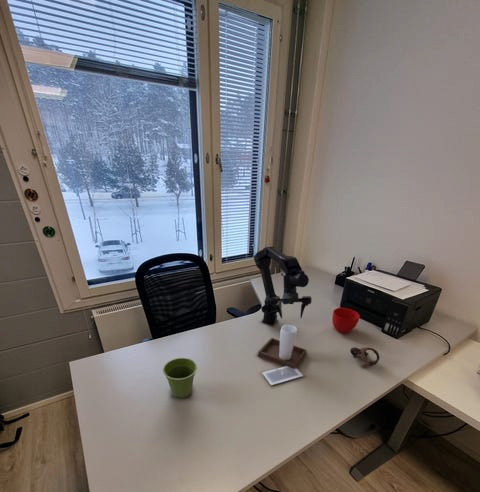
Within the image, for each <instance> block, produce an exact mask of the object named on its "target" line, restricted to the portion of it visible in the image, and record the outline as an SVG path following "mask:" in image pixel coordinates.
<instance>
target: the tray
mask: <svg viewBox="0 0 480 492" xmlns="http://www.w3.org/2000/svg"><path fill="white" fill-rule="evenodd" d="M279 350H280V339H277V338H274V337H271V338H270V339H269V340H268V341H267V342H266V343H265V344H264V345H263V346H262V347H261V348H260V350H258V353H257V357H260V358H262V359H265V360H267V361H270V362H273V363H275V364H277V365H280V366H282V367H285V366H288V367H290V368H293V369H296V368H297V369H298V366H299V365H300V364H301V362H302V361H303V360H304V357H305V356H306V354H307V349H305V348H302V347H299V346H297V345H294V347H293V350H292V354H291V358H290V359H289V360H282V359H281V358H280V357H279Z"/></svg>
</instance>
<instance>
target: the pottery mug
mask: <svg viewBox="0 0 480 492" xmlns="http://www.w3.org/2000/svg"><path fill="white" fill-rule="evenodd" d="M367 351H372V352H373V353H374V354H375V355H376V360H369V361H368V358H367V357H368V356H369V355H370V353H369V352H367ZM349 352H350V355H352V356H353V358H354V359H356V358H357V356H360V358H361V360H362V362H363V364H362V367H363V368H365V369H367V368H371V367H375V366H377V364H378V363H379V362H380V358H381V357H380V354H379V352H378V351H377V349H375V348H373V347H361V348H358V347H355V346H354V347H351V348H350V350H349Z"/></svg>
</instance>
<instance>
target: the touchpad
mask: <svg viewBox="0 0 480 492" xmlns="http://www.w3.org/2000/svg"><path fill="white" fill-rule="evenodd" d="M261 374H262V375H263V377H264V378H265V379H266V381H267V382H268V384H270V386H273V385H277V384H280V383H283V382H287V381H291V380H294V379H297V378H300V377H304V375H303V373H302V372H300V370H299V369H298V367H297V368H296V369H293V368H290V367H288V366H282V367H278V368H277V367H276V368H273V369H270V370H266V371H263V372H261Z"/></svg>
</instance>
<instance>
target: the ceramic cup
mask: <svg viewBox="0 0 480 492" xmlns="http://www.w3.org/2000/svg"><path fill="white" fill-rule="evenodd" d="M360 317H361V316H360V314H359V312H357V311H356V310H353V309H351V308H347V307H339V306H338V307H337V308H335V309H333V312H332V319H331V320H332V325H333V328H334V329H335V330H336V332H338V333H340V334H348V333H351V331H353V330H354V329H355V328H356V327H357V325H358V322H359V320H360Z"/></svg>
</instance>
